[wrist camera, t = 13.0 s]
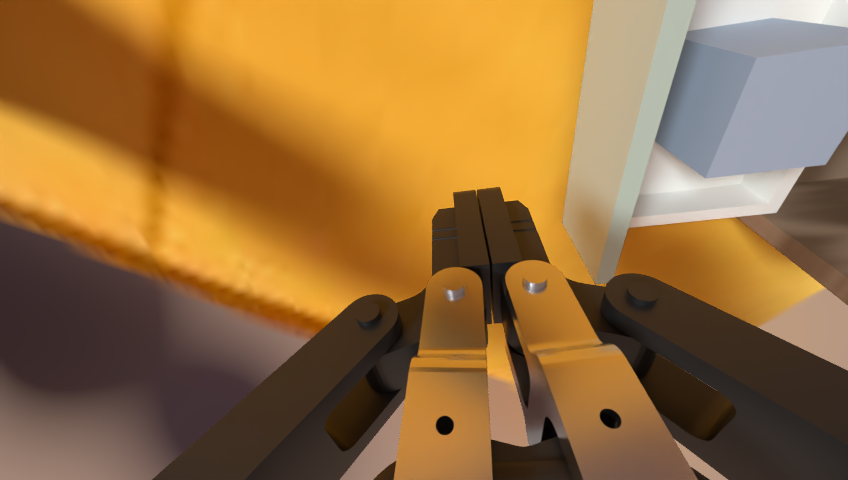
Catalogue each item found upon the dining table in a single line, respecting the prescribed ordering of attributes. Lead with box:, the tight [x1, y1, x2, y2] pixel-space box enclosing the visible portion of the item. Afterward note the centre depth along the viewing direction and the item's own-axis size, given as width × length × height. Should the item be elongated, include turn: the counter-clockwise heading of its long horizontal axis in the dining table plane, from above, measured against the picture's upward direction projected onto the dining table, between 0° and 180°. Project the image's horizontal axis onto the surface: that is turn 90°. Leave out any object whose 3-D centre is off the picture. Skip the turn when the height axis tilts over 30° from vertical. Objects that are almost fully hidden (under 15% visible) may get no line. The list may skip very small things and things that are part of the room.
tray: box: [562, 0, 848, 284], centre depth 17 cm, size 12×19×6 cm, turn 8°
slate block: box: [655, 18, 848, 179], centre depth 16 cm, size 5×5×6 cm
